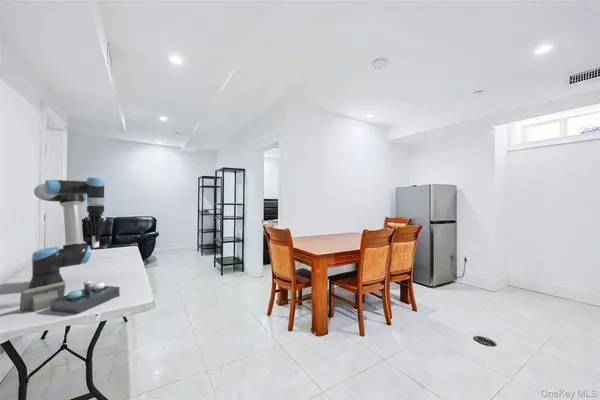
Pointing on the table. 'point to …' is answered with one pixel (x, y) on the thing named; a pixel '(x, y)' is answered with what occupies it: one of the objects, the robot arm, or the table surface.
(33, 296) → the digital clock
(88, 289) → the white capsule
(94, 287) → the knob inner
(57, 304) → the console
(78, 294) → the knob outer
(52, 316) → the table surface
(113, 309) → the table surface
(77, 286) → the table surface
